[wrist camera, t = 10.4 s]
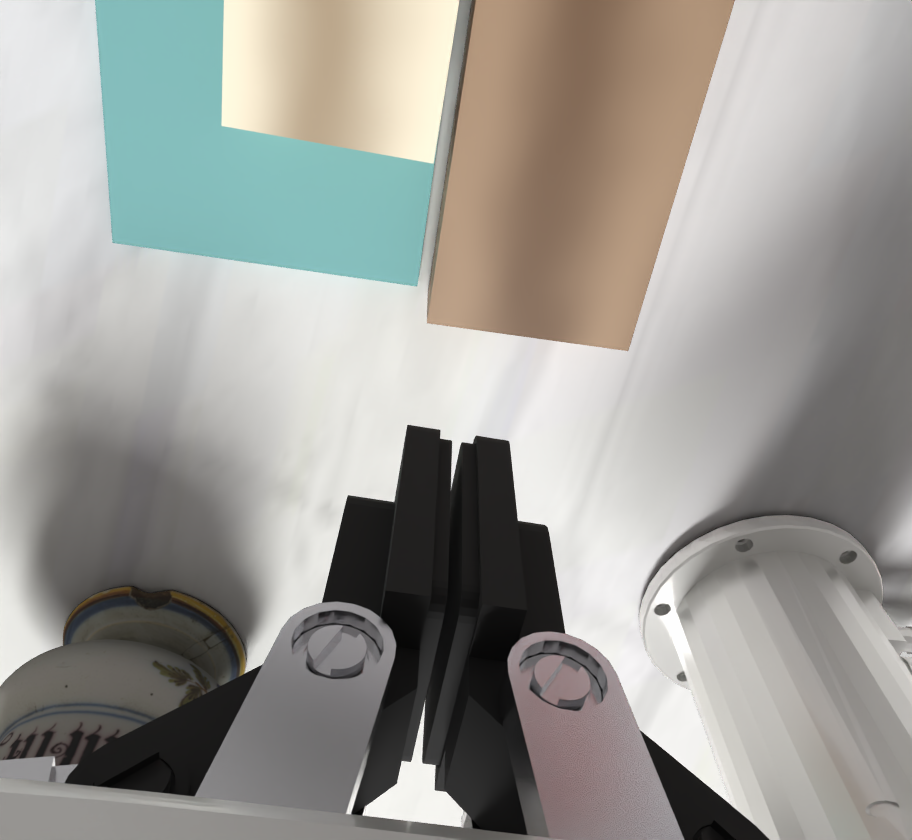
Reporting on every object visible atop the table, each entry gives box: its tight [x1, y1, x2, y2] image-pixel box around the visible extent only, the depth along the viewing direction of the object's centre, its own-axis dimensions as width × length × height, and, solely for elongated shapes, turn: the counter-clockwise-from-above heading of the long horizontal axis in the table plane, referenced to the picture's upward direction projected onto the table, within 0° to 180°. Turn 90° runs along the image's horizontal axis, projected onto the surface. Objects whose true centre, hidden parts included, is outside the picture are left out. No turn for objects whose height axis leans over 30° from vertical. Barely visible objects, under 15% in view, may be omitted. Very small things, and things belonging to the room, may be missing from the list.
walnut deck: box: [427, 0, 735, 351], centre depth 26 cm, size 8×18×3 cm, turn 171°
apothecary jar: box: [0, 586, 246, 766], centre depth 34 cm, size 12×12×18 cm
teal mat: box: [95, 0, 442, 286], centre depth 27 cm, size 12×14×1 cm
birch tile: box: [222, 0, 459, 164], centre depth 25 cm, size 7×6×3 cm
